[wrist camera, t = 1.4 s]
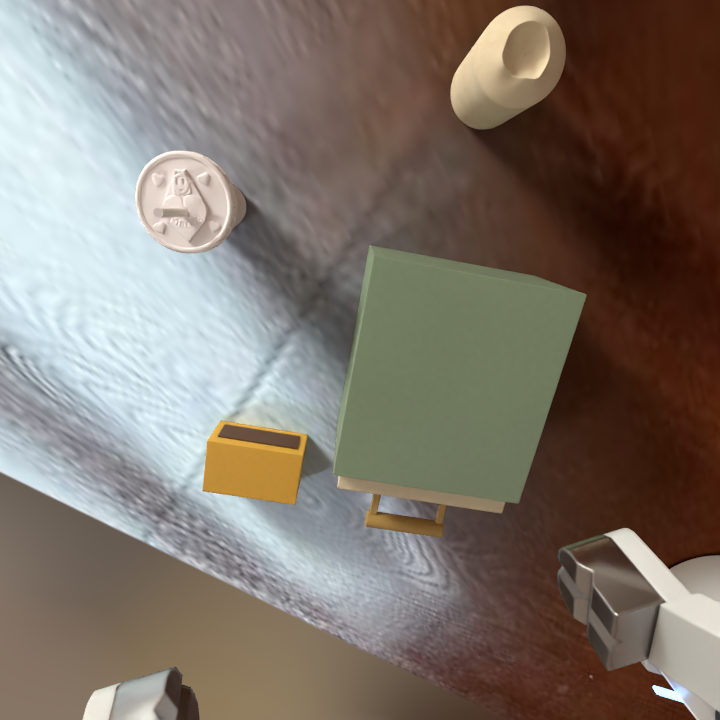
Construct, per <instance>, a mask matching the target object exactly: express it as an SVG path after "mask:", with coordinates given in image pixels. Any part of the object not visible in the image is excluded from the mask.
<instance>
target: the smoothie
mask: <svg viewBox="0 0 720 720" xmlns="http://www.w3.org/2000/svg"><path fill="white" fill-rule="evenodd" d="M135 203H136V209H137V212H138V215H139V218H140V220H141V222H142V224H143V226H144V227H145V229H146V230H147V232H148V233H149V234H150V235H151V236H152V237H153V238H154V239H155V240H156V241H157V242H158V243H160V244H161V245H163V246H165V247H166V248H168V249H171V250H173V251H176V252H181V253H200V252H206V251H209V250H211V249H213V248H215V247H217V246H219V245H220V244H221V243H222V242H223V241H224V240H225V239H226V238H227V237H228V235H229V234H230V232H231V231H232V229H233V228H234V227H236V226H237V225H238V224H239V223H240V222H241V221H242V220H243V218H244V216H245V213H246V201H245V198H244V196H243V194H242V193H241V191H240V190H239V189H238V188H237V187H236V186H234V185H233V184H232V183H231V181H230V179H229V177H228V176H227V175H226V173H225V172H224V171H223V170H222V169H221V167H220V166H219V165H217V164H216V163H215V162H213V161H212V160H211V159H209V158H208V157H205V156H203V155H200V154H198V153H195V152H188V151H171V152H166V153H163V154H161V155H159V156H157V157H155V158H154V159H152V160H151V161H150V162H149V163H148V164H147V165H146V166H145V167H144V169H143V170H142V172H141V174H140V176H139V178H138V181H137V184H136V190H135Z"/></svg>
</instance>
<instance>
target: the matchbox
mask: <svg viewBox="0 0 720 720" xmlns="http://www.w3.org/2000/svg"><path fill="white" fill-rule="evenodd" d="M307 436H308V435H307V434H301V433H295V432H288V431H282V430H276V429H270V428H263V427H257V426H251V425H245V424H238V423H232V422H226V421H220V422H219V424H218V425H217V427H216V428H215V430H214V431H213V433H212V434H211V436H210V438H209V439H208V441H207V450H206V460H205V471H204V482H203V491H206V492H212V493H219V494H226V495H232V496H239V497H246V498H252V499H259V500H266V501H272V502H279V503H286V504H292V505H295V503H296V498H297V494H298V489H299V484H300V479H301V473H302V467H303V461H304V454H305V448H306V442H307Z"/></svg>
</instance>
